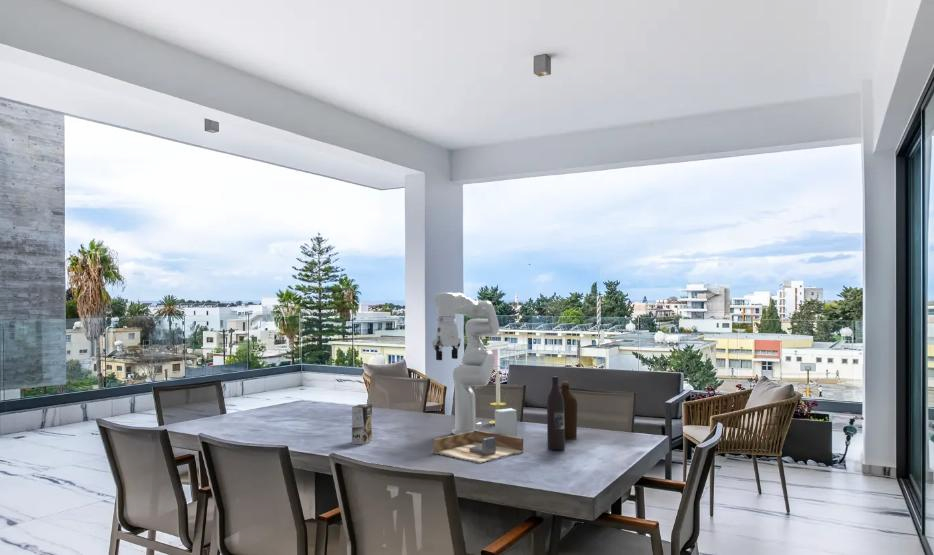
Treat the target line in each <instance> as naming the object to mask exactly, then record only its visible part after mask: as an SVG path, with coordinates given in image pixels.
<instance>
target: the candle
mask: <svg viewBox="0 0 934 555" xmlns="http://www.w3.org/2000/svg"><path fill="white" fill-rule="evenodd" d="M496 371H497V372H496V374H495V402H490V403H489V405H490V406H494V407H495V410H499V409H501V408H502V406H506V405H507V403H506V402H504V401H503V402H501V374H500V373H499V370H496ZM489 423H490V425H493V424H495V420H490V421H488V424H489Z"/></svg>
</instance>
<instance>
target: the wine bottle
mask: <svg viewBox="0 0 934 555" xmlns="http://www.w3.org/2000/svg"><path fill="white" fill-rule="evenodd" d="M559 379H560V378H559V376H556V375H555V376H553V375H552V376H551V381H552V382H551V383H552V384H551V389H550V392H549V394H548V396H547V398H546V416H547V417H546V419H547V421H546V424H547V426H546V427H547V428H546V429H547V438H546V439H547V450H549V451H552V452H562V451H563V450H565V448H566V446H565V444H566V443H565V441H566V439H565V428H564V399H563V396H562V394H561V392H560V391H561V389H560V388H559V381H560V380H559ZM561 450H562V451H561Z"/></svg>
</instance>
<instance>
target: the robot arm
mask: <svg viewBox="0 0 934 555" xmlns="http://www.w3.org/2000/svg"><path fill="white" fill-rule="evenodd" d="M434 304H435V307H436V308H437V312H438V314H437V326H436V331H435V332H436V334H435V338H434V339H433V340H432V341H431V343H432V347H433V349H434V351H435V356H436V358H435V359H436V361H443V350H442V349H443V348H444V347H445V348H446V347H447V348H448V347H451V348H452V349H451V359H454V360H457V359H458V358H459V356H458V353H459V351H458V350H459V348H460V346H461V343H462V339H461V338H459V331H458V330H459V329H458V325H457V323H456V314H457V315H463V316H466V317H468V318H471V319H469V320H467V321H466V323H465V325H464V326H465V336H466V340H467V345H466V348H465V350H464V353H463V355H462V358H461V365H457V366H456V367H455V368H454V369H453V371H452V379H453V385H454V386H453V387H454V410H455V411H454V413H455V414H454V428H453V429H451V433H452V435H456V434H461V433H465V432H470V431H475V430H479V429H478V428H479V427H482V425H483V424H482V422H477V421H476V394H475V392H474V390H473V388H472V387H486V386H487V385H488V384H489V382H490V380H491V376H492V374H493V371H494V367H495V362H496V357H495V354H494V352H493V351H492V350H489V349H485V344H484V343H483V341H482V340H481V338H480V337H479V336H485V337H488V336H489V337H492V336H496V335H498V333H499V331H500V323H499V320H498V317H497V312H496V310H495V307H494V305H493V303H492V302H491V301H490V300H474V299H472V298H470V297H468V296H466V295H465V294H464V293H462V292H439V293H437V294H436V295H435V297H434Z"/></svg>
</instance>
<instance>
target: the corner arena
mask: <svg viewBox="0 0 934 555" xmlns="http://www.w3.org/2000/svg"><path fill="white" fill-rule="evenodd" d="M489 437H496V453H492V454H489V455H482V454H479V453H474V452H470V448H472V447H475V446H481V447H482V439H485V438H489ZM432 440H433V442H432V444H433V445H432V446H433V452H432V454H434V453H435V454H434V455H438V454H440V455H439V456H443V455H445V456H444V457H447V456H450V457H449V458H452V457H455V458H454V459H456V458H460V459H459V460H461V459H465V460H469V461H468V462H470V461H473V462H472V463H475V462H478V463H477V464H479V463H482V462H485V463H487V462H486V461H489V460H493V461H495V460H494V459H496V460H498V459H497V458H500V459H502V458H501V457H504V458H506V457H505V456H507V457H510V456H509V455H511V456H514V455H513V454H515V455H518V454H521V452H522V453H524V437H519V436H517V437H513V436H508V435H502V434H496V433H495V432H489V431H484V430H479V429H478V430H475V431H470V432H465V433H461V434H452V435H448V436H443V437H438V438H433V439H432ZM517 453H518V454H517ZM465 460H464V461H465ZM489 462H490V461H489ZM482 464H483V463H482Z"/></svg>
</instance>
